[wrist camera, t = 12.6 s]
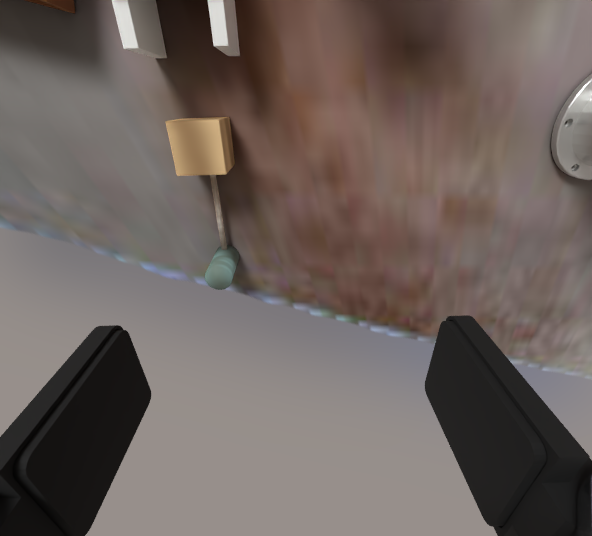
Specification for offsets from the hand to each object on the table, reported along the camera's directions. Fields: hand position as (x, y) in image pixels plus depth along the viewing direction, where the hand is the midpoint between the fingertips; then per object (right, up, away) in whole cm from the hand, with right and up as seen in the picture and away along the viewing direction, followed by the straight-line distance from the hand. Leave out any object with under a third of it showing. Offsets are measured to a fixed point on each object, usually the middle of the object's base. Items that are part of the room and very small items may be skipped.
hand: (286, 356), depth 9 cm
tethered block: (-9, +11, +28) cm, 32 cm away
